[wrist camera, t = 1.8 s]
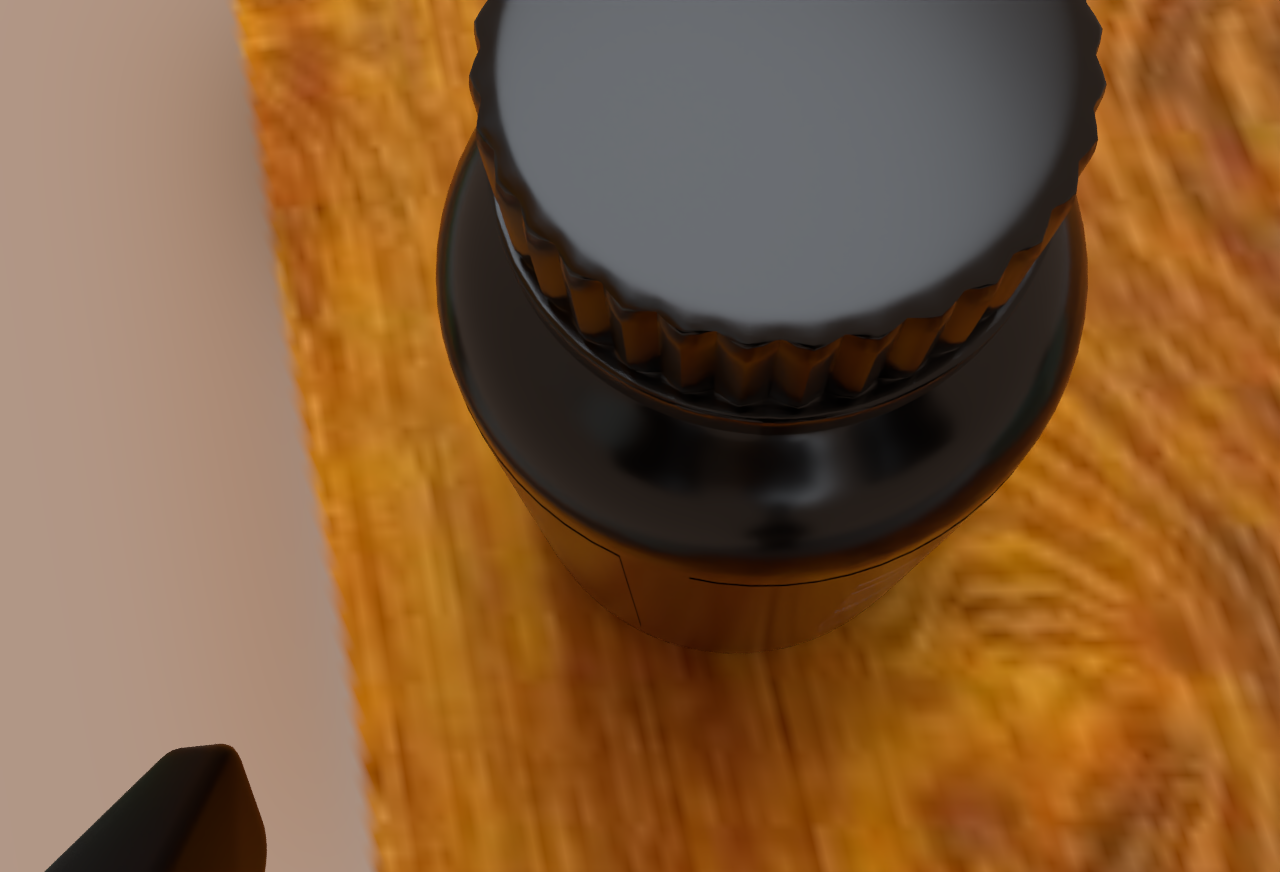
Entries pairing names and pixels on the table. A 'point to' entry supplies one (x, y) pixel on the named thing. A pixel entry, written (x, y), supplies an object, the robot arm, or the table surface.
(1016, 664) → the table surface
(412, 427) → the table surface
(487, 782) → the table surface
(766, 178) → the supplement bottle
